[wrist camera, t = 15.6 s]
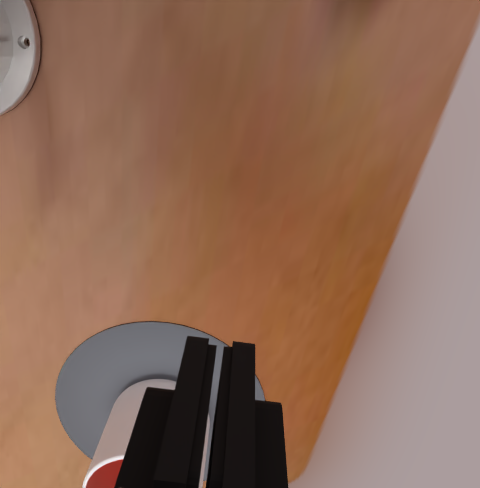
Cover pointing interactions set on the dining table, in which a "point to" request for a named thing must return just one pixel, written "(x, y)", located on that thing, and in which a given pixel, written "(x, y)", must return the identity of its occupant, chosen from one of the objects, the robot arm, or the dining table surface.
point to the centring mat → (124, 375)
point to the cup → (124, 435)
